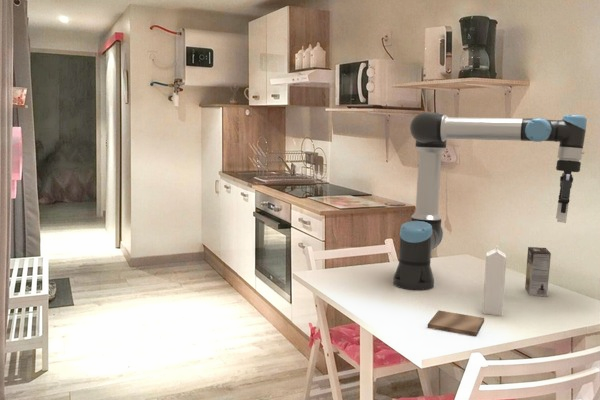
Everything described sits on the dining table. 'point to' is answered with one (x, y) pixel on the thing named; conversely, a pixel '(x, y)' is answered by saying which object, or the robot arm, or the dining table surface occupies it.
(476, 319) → the walnut board
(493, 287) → the milk
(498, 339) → the dining table surface
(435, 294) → the dining table surface
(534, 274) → the coffee box
